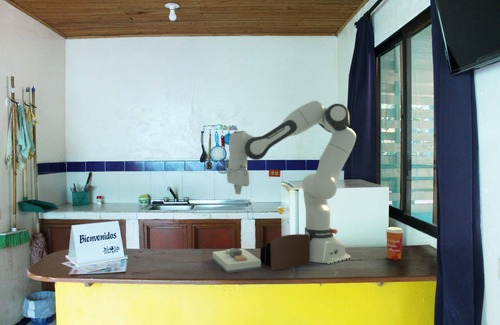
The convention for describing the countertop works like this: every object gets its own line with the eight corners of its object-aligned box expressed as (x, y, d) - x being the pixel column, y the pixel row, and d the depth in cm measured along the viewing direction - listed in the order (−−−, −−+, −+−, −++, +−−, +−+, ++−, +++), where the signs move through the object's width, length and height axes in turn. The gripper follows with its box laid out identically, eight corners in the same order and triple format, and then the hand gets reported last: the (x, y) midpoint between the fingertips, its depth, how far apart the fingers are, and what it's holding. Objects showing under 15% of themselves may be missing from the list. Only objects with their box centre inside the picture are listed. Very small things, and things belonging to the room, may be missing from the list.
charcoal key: (238, 255, 159) (238, 248, 159) (241, 257, 155) (241, 250, 155) (230, 256, 157) (230, 249, 157) (233, 258, 154) (233, 251, 154)
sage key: (234, 254, 164) (234, 248, 164) (237, 257, 160) (237, 250, 160) (225, 255, 162) (225, 249, 162) (228, 258, 159) (228, 251, 159)
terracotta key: (243, 261, 154) (243, 254, 154) (246, 264, 150) (246, 257, 150) (234, 262, 152) (234, 256, 152) (237, 265, 149) (237, 258, 149)
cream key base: (243, 255, 168) (243, 248, 168) (260, 268, 150) (260, 260, 150) (212, 259, 163) (212, 251, 162) (227, 273, 144) (227, 264, 144)
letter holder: (310, 264, 156) (310, 232, 156) (271, 271, 147) (271, 237, 147) (297, 258, 165) (297, 228, 164) (259, 264, 156) (259, 232, 156)
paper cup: (382, 258, 166) (382, 228, 165) (390, 254, 171) (390, 226, 170) (398, 262, 160) (399, 231, 159) (406, 258, 165) (406, 228, 164)
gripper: (252, 166, 161) (252, 196, 161) (236, 164, 180) (236, 191, 180) (239, 166, 159) (239, 196, 159) (224, 164, 177) (224, 192, 178)
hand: (237, 194), depth 170 cm, fingers closed
